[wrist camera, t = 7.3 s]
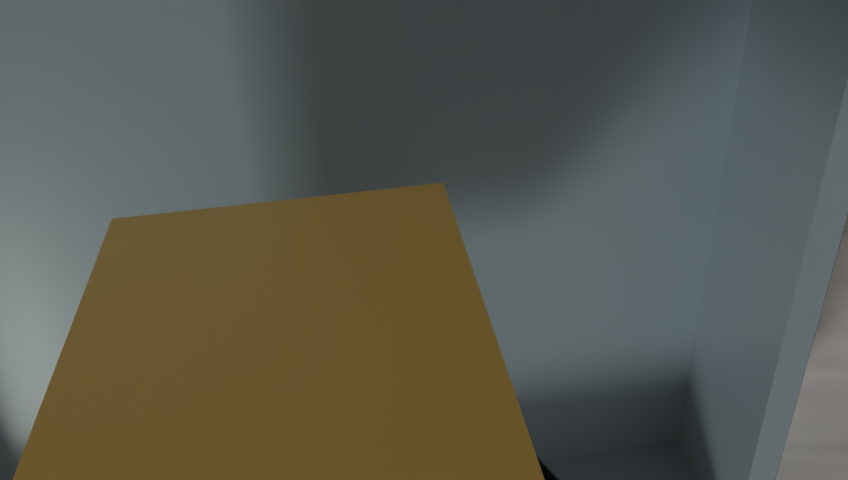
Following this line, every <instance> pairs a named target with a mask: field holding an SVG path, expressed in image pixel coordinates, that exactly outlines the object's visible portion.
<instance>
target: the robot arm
mask: <svg viewBox="0 0 848 480" xmlns="http://www.w3.org/2000/svg"><path fill="white" fill-rule="evenodd" d="M536 456H537V455H536ZM537 459H538V462H539V465H540V468H541V470H542V473H543V476H544V479H545V480H560V479H559V478H558V477H557V476H556V475H555V474H554V473H553V472H552V471H551V470H550V469H549V468H548V467H547V466H546V465H545V464H544V463H543V462H542V460H541V459H540V458H539V457H538V456H537Z"/></svg>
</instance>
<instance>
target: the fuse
mask: <svg viewBox="0 0 848 480" xmlns="http://www.w3.org/2000/svg"><path fill="white" fill-rule="evenodd" d="M13 480H545V479H544V476H543V473H542V470H541V468H540V465H539V462H538V459H537V456H536V453H535V450H534V447H533V444H532V441H531V438H530V435H529V432H528V430H527V427H526V424H525V421H524V418H523V415H522V412H521V409H520V406H519V403H518V400H517V397H516V394H515V391H514V389H513V386H512V383H511V380H510V377H509V374H508V371H507V368H506V365H505V362H504V359H503V356H502V353H501V351H500V348H499V345H498V342H497V339H496V336H495V333H494V330H493V327H492V324H491V321H490V318H489V315H488V313H487V310H486V307H485V304H484V301H483V298H482V295H481V292H480V289H479V286H478V283H477V280H476V277H475V274H474V272H473V269H472V266H471V263H470V260H469V257H468V254H467V251H466V248H465V245H464V242H463V239H462V236H461V234H460V231H459V228H458V225H457V222H456V219H455V216H454V213H453V210H452V207H451V204H450V201H449V198H448V196H447V193H446V190H445V187H444V184H443V183H436V184H427V185H417V186H408V187H399V188H390V189H381V190H372V191H362V192H353V193H344V194H335V195H326V196H316V197H307V198H298V199H289V200H280V201H271V202H261V203H252V204H243V205H234V206H225V207H215V208H206V209H197V210H188V211H179V212H170V213H160V214H151V215H142V216H133V217H124V218H114V219H112V220H111V223H110V225H109V228H108V230H107V233H106V236H105V238H104V241H103V244H102V246H101V249H100V251H99V254H98V257H97V259H96V262H95V265H94V267H93V270H92V272H91V275H90V278H89V280H88V283H87V286H86V288H85V291H84V293H83V296H82V299H81V301H80V304H79V306H78V309H77V312H76V314H75V317H74V320H73V322H72V325H71V327H70V330H69V333H68V335H67V338H66V341H65V343H64V346H63V348H62V351H61V354H60V356H59V359H58V362H57V364H56V367H55V369H54V372H53V375H52V377H51V380H50V383H49V385H48V388H47V390H46V393H45V396H44V398H43V401H42V404H41V406H40V409H39V411H38V414H37V417H36V419H35V422H34V425H33V427H32V430H31V432H30V435H29V438H28V440H27V443H26V446H25V448H24V451H23V453H22V456H21V459H20V461H19V464H18V467H17V469H16V472H15V474H14V477H13Z"/></svg>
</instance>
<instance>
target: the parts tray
mask: <svg viewBox="0 0 848 480" xmlns="http://www.w3.org/2000/svg"><path fill="white" fill-rule="evenodd" d="M436 183H443V184H444V187H445V190H446V193H447V196H448V198H449V201H450V204H451V207H452V210H453V213H454V216H455V219H456V222H457V225H458V228H459V231H460V234H461V236H462V239H463V242H464V245H465V248H466V251H467V254H468V257H469V260H470V263H471V266H472V269H473V272H474V274H475V277H476V280H477V283H478V286H479V289H480V292H481V295H482V298H483V301H484V304H485V307H486V310H487V313H488V315H489V318H490V321H491V324H492V327H493V330H494V333H495V336H496V339H497V342H498V345H499V348H500V351H501V353H502V356H503V359H504V362H505V365H506V368H507V371H508V374H509V377H510V380H511V383H512V386H513V389H514V391H515V394H516V397H517V400H518V403H519V406H520V409H521V412H522V415H523V418H524V421H525V424H526V427H527V430H528V432H529V435H530V438H531V441H532V444H533V447H534V450H535V453H536V455H537V456H538V457H539V458H540V459H541V460H542V462H543V463H544V464H545V465H546V466H547V467H548V468H549V469H550V470H551V471H552V472H553V473H554V474H555V475H556V476H557V477H558V478H559V479H560V480H775V479H776V476H777V472H778V468H779V465H780V461H781V457H782V454H783V450H784V446H785V443H786V439H787V435H788V432H789V428H790V424H791V421H792V417H793V413H794V410H795V406H796V402H797V399H798V395H799V391H800V388H801V384H802V380H803V377H804V373H805V369H806V366H807V362H808V358H809V355H810V351H811V347H812V344H813V340H814V336H815V333H816V329H817V325H818V322H819V318H820V314H821V311H822V307H823V303H824V300H825V296H826V292H827V289H828V285H829V281H830V278H831V274H832V270H833V267H834V263H835V259H836V256H837V252H838V248H839V245H840V241H841V237H842V234H843V230H844V226H845V223H846V219H847V215H848V0H0V480H13V477H14V474H15V472H16V469H17V467H18V464H19V461H20V459H21V456H22V453H23V451H24V448H25V446H26V443H27V440H28V438H29V435H30V432H31V430H32V427H33V425H34V422H35V419H36V417H37V414H38V411H39V409H40V406H41V404H42V401H43V398H44V396H45V393H46V390H47V388H48V385H49V383H50V380H51V377H52V375H53V372H54V369H55V367H56V364H57V362H58V359H59V356H60V354H61V351H62V348H63V346H64V343H65V341H66V338H67V335H68V333H69V330H70V327H71V325H72V322H73V320H74V317H75V314H76V312H77V309H78V306H79V304H80V301H81V299H82V296H83V293H84V291H85V288H86V286H87V283H88V280H89V278H90V275H91V272H92V270H93V267H94V265H95V262H96V259H97V257H98V254H99V251H100V249H101V246H102V244H103V241H104V238H105V236H106V233H107V230H108V228H109V225H110V223H111V220H112V219H114V218H124V217H133V216H142V215H151V214H160V213H170V212H179V211H188V210H197V209H206V208H215V207H225V206H234V205H243V204H252V203H261V202H271V201H280V200H289V199H298V198H307V197H316V196H326V195H335V194H344V193H353V192H362V191H372V190H381V189H390V188H399V187H408V186H417V185H427V184H436Z"/></svg>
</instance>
